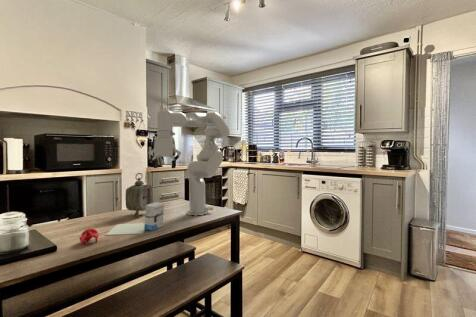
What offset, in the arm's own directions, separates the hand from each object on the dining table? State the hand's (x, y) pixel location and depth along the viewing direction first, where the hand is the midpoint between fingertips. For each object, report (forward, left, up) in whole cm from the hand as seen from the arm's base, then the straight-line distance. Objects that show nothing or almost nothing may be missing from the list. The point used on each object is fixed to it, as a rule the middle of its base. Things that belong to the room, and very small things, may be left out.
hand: (164, 168), depth 131 cm
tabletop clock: (+18, -21, -29) cm, 40 cm away
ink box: (+5, +6, -29) cm, 30 cm away
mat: (+16, +6, -29) cm, 34 cm away
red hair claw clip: (+28, +22, -29) cm, 46 cm away
